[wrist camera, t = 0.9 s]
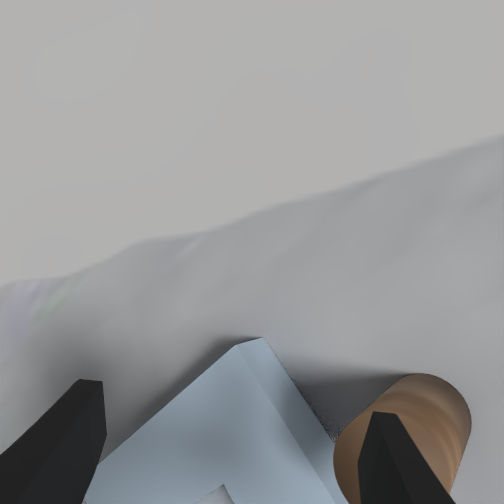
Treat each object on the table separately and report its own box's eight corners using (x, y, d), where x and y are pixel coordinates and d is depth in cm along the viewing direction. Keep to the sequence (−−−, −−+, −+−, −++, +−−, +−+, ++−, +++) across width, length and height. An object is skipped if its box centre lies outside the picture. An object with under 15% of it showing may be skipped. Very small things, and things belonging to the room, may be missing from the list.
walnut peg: (491, 432, 21) (476, 502, 15) (420, 473, 22) (379, 552, 16) (431, 357, 22) (394, 392, 16) (367, 400, 24) (312, 447, 18)
